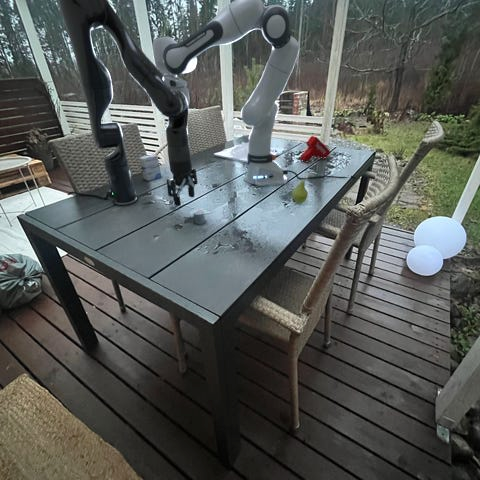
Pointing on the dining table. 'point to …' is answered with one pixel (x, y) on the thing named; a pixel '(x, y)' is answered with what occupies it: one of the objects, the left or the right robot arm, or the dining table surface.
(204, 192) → the dining table surface
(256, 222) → the dining table surface
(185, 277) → the dining table surface
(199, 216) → the tin
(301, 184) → the fruit
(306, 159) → the toy gun
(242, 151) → the relief map
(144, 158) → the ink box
